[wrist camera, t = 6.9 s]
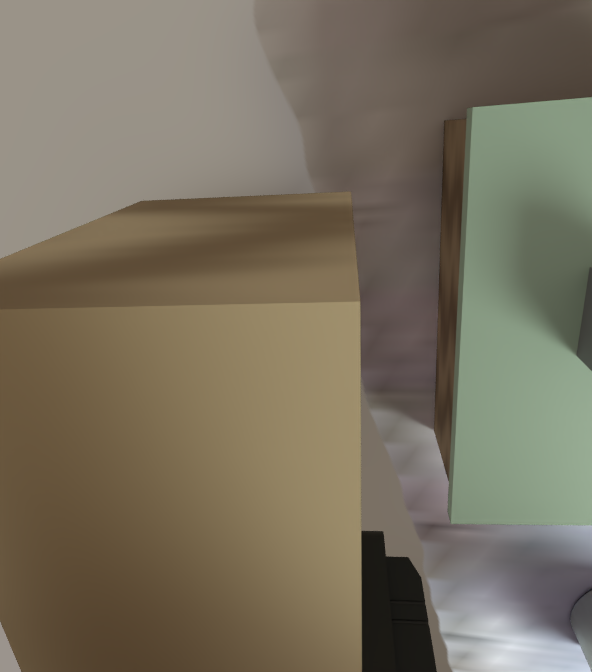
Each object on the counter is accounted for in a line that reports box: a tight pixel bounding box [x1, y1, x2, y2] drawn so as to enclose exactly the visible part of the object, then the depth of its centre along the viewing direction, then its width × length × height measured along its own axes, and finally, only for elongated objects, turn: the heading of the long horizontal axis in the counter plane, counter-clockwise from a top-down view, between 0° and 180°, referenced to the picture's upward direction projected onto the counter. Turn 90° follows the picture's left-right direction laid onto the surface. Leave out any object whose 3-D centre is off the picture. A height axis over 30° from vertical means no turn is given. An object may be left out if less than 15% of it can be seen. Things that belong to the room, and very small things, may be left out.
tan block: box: [0, 192, 362, 672], centre depth 10 cm, size 4×16×6 cm, turn 3°
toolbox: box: [434, 119, 467, 481], centre depth 32 cm, size 24×14×9 cm, turn 4°
